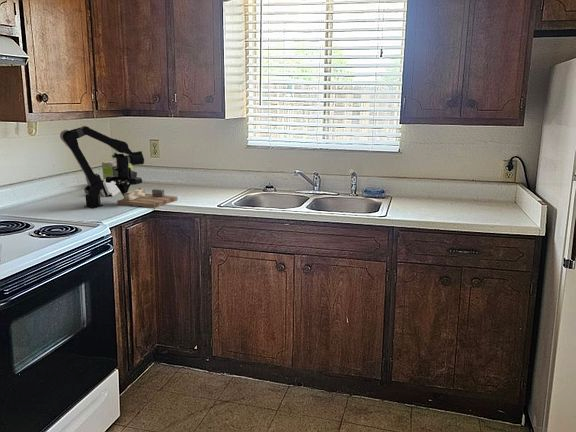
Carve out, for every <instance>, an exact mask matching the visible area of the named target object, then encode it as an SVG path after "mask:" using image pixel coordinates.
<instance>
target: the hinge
mask: <svg viewBox="0 0 576 432" xmlns="http://www.w3.org/2000/svg"><path fill="white" fill-rule="evenodd" d="M105 179H106V178H105ZM105 179H101V180H102V181H103V182H102V183H103V189H102V190H101V191H100V192H101V194H102V196H103V197H105V198H106V197H107V196H110V195H111V197H115V196H116V195H117V194H119V193H121V191H120V190H119V188H118V187H116V185H115V183H114V181H111V183H106V180H105Z"/></svg>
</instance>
